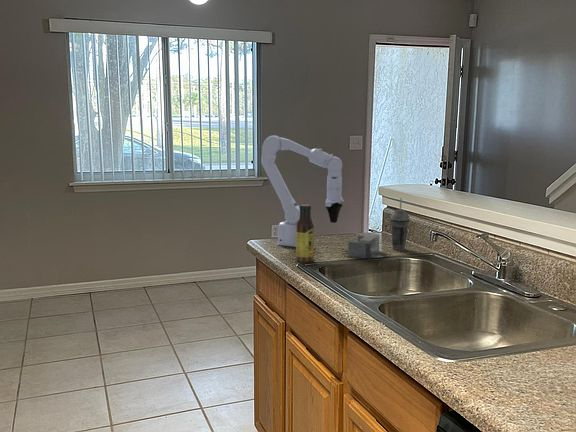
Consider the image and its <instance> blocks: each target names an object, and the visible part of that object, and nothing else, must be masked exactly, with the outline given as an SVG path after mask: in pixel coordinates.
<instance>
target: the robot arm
mask: <svg viewBox="0 0 576 432" xmlns="http://www.w3.org/2000/svg"><path fill="white" fill-rule="evenodd" d="M288 150H289V151H292V152H294V153H297V154H299V155H302V156H304V157H306V158H308V160H309V163H311V164H314V165H316V166H319V167H321V168H323V169H327V176H326V180H327V181H326V199H325V202H324V204H325V205H324V207H325V208H326V210H327V213H328V217H329V221H330V223H331V224H332V223H336V224H337V222H338V218H339V213H340V211H341V209H342V208H343V204H342V202H345V199H343V196H342V190H343V189H342V184H343V176H342V174H343V173H342V169H343V162H342V160H341V158H339V157H338V156H335V155H334V154H333V153H330V154H329V153H327V152H326V151H323V148H312V149H310V148H308V147H305V146H303V145H302V144H299V143H297V142H295V141H293V140H291V139H288V138H284V137H282V136H281V137H280V136H279V135H270V136H268V137H266V138H265V139H264V141H263V144H262V146H261V158H260V159H261V160H260V163H261V165H262V168H263V170H264V171H265V174H266V175H267V178H268V180H269V182H270V184H271V185H272V187H273V189H274V191H275V193H276V195H277V197H278V198H279V200H280V203H281V206H282V210H283V211H284V219H285V220H284V221H281V222H279V224H278V228H277V244H276V245H277V246H283V247H284V246H286V247H295V248H296V231H297V222H298V221H299V219H300V205H299V204H297V202H296V200H295V198H294V197H293V196H292V194H291V191H290V190H289V188H288V187H287V184H286V182H285V181H284V179H283V176H282V174H281V172H280V170H279V168H278V166H277V164H276V162H275V160H276V159H277V158H276V157H277V155H278V153H280V151H288Z"/></svg>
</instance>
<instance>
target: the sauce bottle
mask: <svg viewBox="0 0 576 432" xmlns="http://www.w3.org/2000/svg"><path fill="white" fill-rule="evenodd" d="M299 206H300V219H299V221H298V222H297V231H296V247H295V259H296V261H297V262H298V263H309V262H312V261H314V254H315V253H314V250H315V248H314V247H315V246H314V245H315V242H314V241H315V227H314V224H313V221H312V216H311V215H312V214H311V212H312V211H311V209H312V205H311V204H300V205H299Z"/></svg>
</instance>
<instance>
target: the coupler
mask: <svg viewBox="0 0 576 432" xmlns="http://www.w3.org/2000/svg"><path fill="white" fill-rule="evenodd" d="M380 236H381V235H380V234H377V233H368V234H367V235H359V234H358V236H357V241H354V240H353V241H352V240H349V241H348V247H347V248H348V250H347V251H348V255H347V256H348V257H350V258H359V259H360V258H361V259H367V258H368V259H369V260H370V259H371V258H373V256H375V255H376V254H377V253H379V252H380V238H381V237H380ZM368 259H367V260H368Z"/></svg>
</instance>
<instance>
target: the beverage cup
mask: <svg viewBox="0 0 576 432" xmlns="http://www.w3.org/2000/svg"><path fill="white" fill-rule="evenodd" d="M399 200H400V201H399V209H396V210H394V211H393V212H392V214H391V216H390V219H389V220H390V225H391V228H390V229H391V243H392V244H391V245H392V250H393V251H398V252H401V251H405V248H406V242H407V234H408V228H409V227H408V226H409V223H410V215H409V214H408V212H407V211H406V210H404V209H402V203H403V202H402V200H403V199H402V198H400V199H399Z"/></svg>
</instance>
